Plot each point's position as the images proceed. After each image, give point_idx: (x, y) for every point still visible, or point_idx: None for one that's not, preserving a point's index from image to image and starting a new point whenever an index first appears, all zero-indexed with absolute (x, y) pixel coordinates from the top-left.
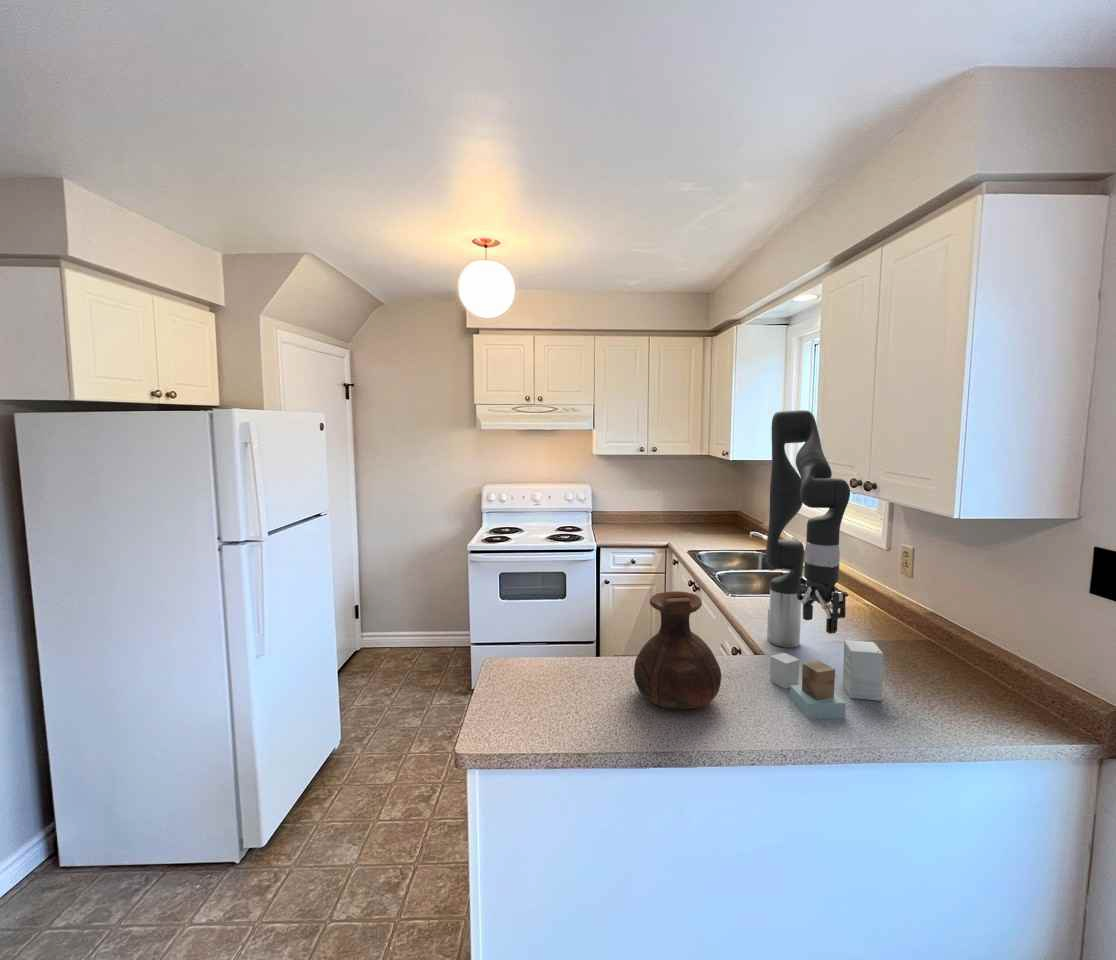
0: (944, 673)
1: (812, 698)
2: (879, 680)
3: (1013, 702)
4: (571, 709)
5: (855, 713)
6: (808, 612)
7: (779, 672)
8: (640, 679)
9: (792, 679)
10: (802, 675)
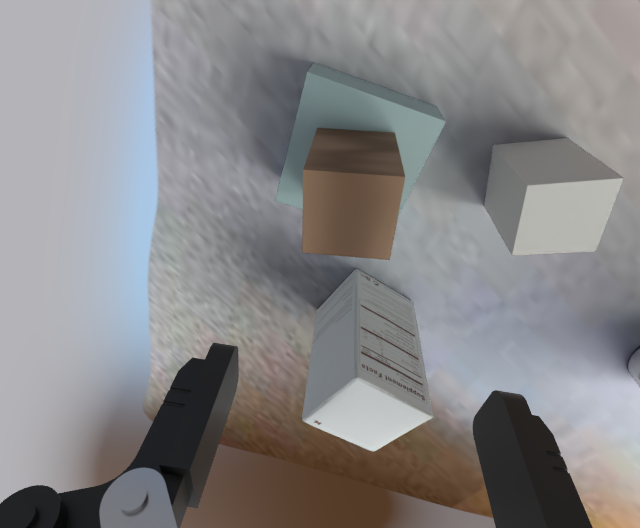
0: (353, 450)
1: (333, 122)
2: (313, 346)
3: (248, 442)
4: None
5: (292, 221)
6: (503, 468)
7: (542, 160)
8: None
9: (495, 189)
10: (399, 154)
